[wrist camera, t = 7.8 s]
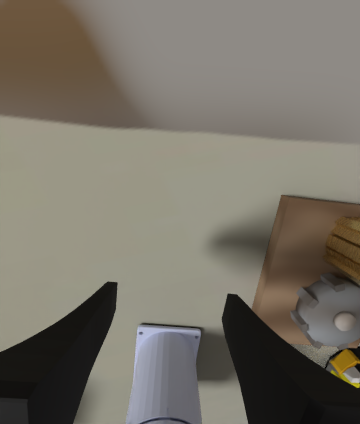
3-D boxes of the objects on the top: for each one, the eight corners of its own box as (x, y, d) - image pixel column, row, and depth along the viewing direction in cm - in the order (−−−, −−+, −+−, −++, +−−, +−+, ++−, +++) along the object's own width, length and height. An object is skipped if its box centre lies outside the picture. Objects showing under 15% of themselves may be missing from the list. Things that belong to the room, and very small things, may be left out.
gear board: (346, 337, 26) (378, 369, 22) (246, 330, 25) (259, 362, 21) (402, 209, 21) (454, 220, 17) (281, 195, 20) (307, 203, 16)
